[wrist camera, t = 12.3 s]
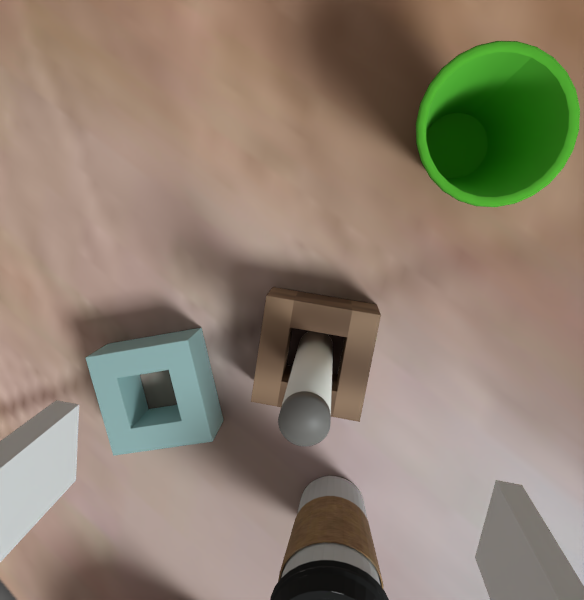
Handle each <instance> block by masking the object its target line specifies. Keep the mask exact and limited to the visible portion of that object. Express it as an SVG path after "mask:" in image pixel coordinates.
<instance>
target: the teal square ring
mask: <svg viewBox="0 0 584 600" xmlns="http://www.w3.org/2000/svg"><path fill="white" fill-rule="evenodd" d="M86 361H87V365H88V368H89V372H90V375H91V379H92V382H93V386H94V389H95V393H96V396H97V400H98V403H99V407H100V410H101V414H102V417H103V421H104V424H105V428H106V431H107V435H108V438H109V442H110V445H111V449H112V452H113V455H120V454H127V453H134V452H141V451H149V450H156V449H163V448H170V447H177V446H184V445H191V444H198V443H205V442H212V441H213V440H214V438H215V436H216V434H217V432H218V430H219V428H220V426H221V424H222V423H223V421H224V420H223V416H222V412H221V408H220V404H219V399H218V395H217V391H216V387H215V383H214V378H213V374H212V370H211V366H210V362H209V357H208V353H207V349H206V345H205V340H204V336H203V332H202V328H196V329H190V330H185V331H179V332H173V333H167V334H162V335H156V336H150V337H144V338H138V339H133V340H127V341H121V342H115V343H110V344H107V345H105V346H103V347H102V348H100V349H99V350H97V351H95V352H94V353H92V354H90V355H89V356H87V357H86ZM164 370H169V373H170V377H171V381H172V385H173V389H174V393H175V397H176V400H177V404H178V405H172V406H166V407H159V408H152V409H148V405H147V401H146V397H145V394H144V390H143V386H142V382H141V379H140V374H146V373H152V372H158V371H164Z"/></svg>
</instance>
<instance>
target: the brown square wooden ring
mask: <svg viewBox="0 0 584 600" xmlns="http://www.w3.org/2000/svg"><path fill="white" fill-rule="evenodd" d="M380 316H381V315H380V312H379V309H378V306H377V304H371V303H365V302H359V301H353V300H347V299H342V298H336V297H330V296H324V295H318V294H312V293H306V292H300V291H294V290H289V289H283V288H277V287H273V288H272V289H271V290H270V292H269V293H268V294H267V295H266V301H265V308H264V315H263V322H262V329H261V336H260V343H259V349H258V356H257V363H256V370H255V377H254V384H253V391H252V397H251V402H256V403H261V404H267V405H272V406H277V407H282V403H283V399H284V396H285V392H286V389H287V385H288V381H289V378H290V374H291V370H292V367H293V366H288V365H286V364H287V358H288V352H289V345H290V339H291V333H292V328H296V329H302V330H308V331H314V332H319V333H325V334H331V335H337V336H342V337H344V342H343V347H342V353H341V358H340V363H339V369H338V374H333V373H332V390H331V417H337V418H342V419H348V420H353V421H359V422H360V417H361V412H362V407H363V402H364V397H365V392H366V387H367V382H368V377H369V372H370V367H371V362H372V357H373V352H374V347H375V341H376V336H377V331H378V326H379V321H380Z"/></svg>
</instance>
